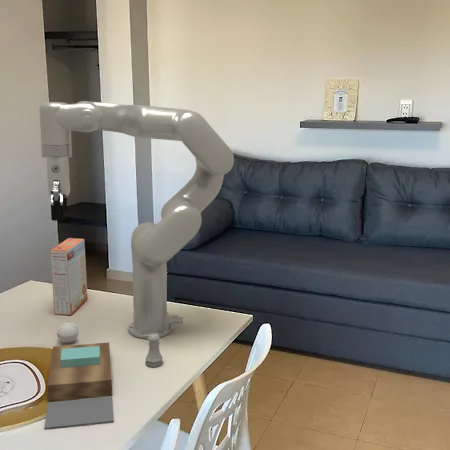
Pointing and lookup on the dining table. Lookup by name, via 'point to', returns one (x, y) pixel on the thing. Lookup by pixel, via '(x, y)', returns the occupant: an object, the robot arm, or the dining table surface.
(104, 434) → the dining table surface
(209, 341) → the dining table surface
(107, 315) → the dining table surface
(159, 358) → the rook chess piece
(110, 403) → the mat
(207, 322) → the dining table surface
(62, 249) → the cracker box
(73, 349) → the teal rectangular block
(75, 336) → the white sphere
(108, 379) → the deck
